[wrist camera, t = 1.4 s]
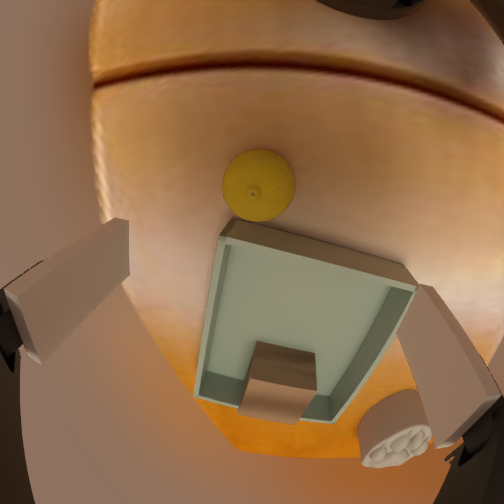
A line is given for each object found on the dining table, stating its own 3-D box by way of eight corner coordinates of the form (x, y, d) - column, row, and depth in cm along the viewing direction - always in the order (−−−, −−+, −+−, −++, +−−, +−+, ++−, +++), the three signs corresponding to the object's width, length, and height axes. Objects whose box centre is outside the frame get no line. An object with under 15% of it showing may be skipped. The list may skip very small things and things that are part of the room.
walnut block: (256, 340, 31) (250, 378, 26) (314, 352, 31) (317, 391, 25) (244, 378, 34) (237, 413, 28) (296, 388, 34) (295, 424, 28)
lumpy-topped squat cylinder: (351, 435, 39) (355, 476, 31) (377, 391, 34) (388, 439, 26) (402, 431, 38) (410, 468, 30) (434, 386, 33) (450, 428, 25)
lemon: (238, 210, 26) (217, 239, 19) (229, 152, 24) (203, 157, 17) (297, 204, 25) (300, 231, 18) (290, 145, 23) (291, 145, 16)
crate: (231, 218, 27) (219, 234, 22) (403, 264, 26) (421, 287, 22) (203, 369, 35) (193, 396, 30) (331, 396, 34) (333, 424, 30)
